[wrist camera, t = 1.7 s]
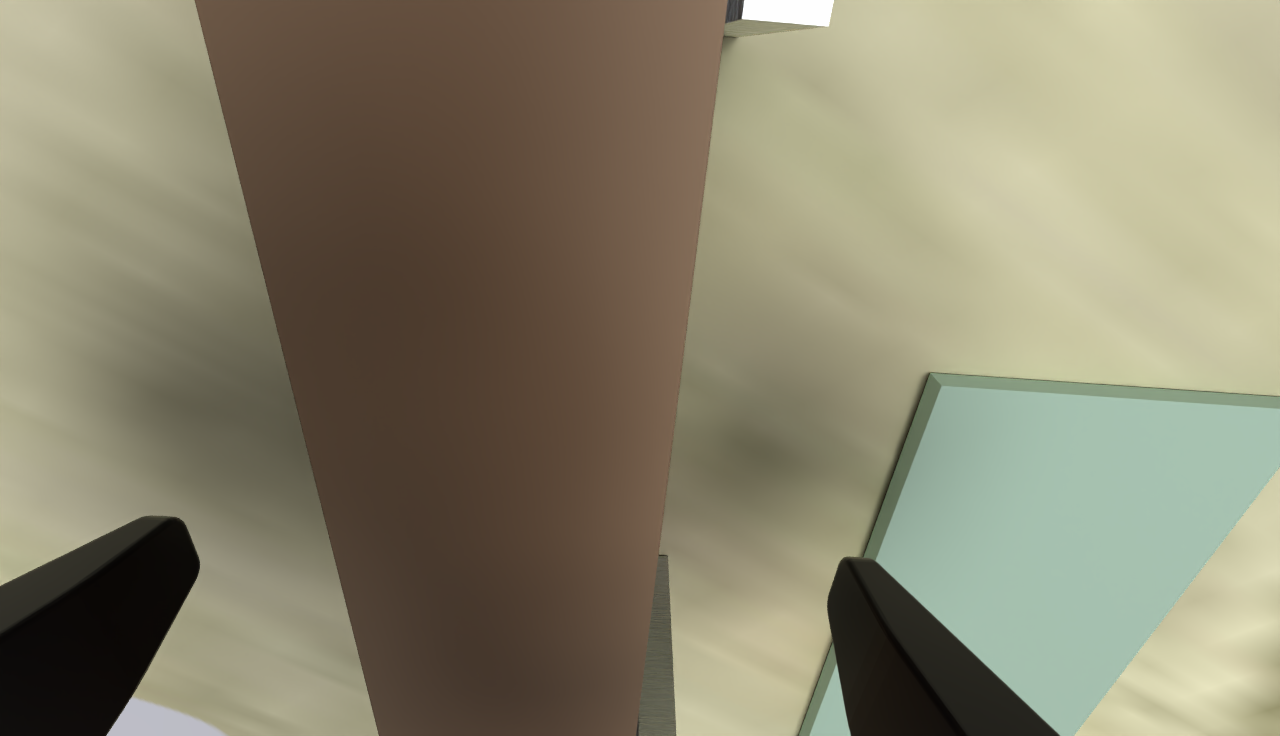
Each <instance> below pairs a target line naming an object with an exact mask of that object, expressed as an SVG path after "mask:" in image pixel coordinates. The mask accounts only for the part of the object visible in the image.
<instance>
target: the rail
mask: <svg viewBox="0 0 1280 736" xmlns="http://www.w3.org/2000/svg"><path fill="white" fill-rule="evenodd" d="M727 2H728V0H195V3H196V7H197V11H198V15H199V19H200V23H201V27H202V31H203V35H204V39H205V43H206V47H207V51H208V55H209V59H210V63H211V67H212V71H213V75H214V79H215V83H216V87H217V91H218V95H219V99H220V103H221V107H222V111H223V115H224V119H225V123H226V127H227V131H228V135H229V139H230V143H231V147H232V151H233V155H234V159H235V163H236V167H237V171H238V175H239V179H240V183H241V187H242V191H243V195H244V199H245V203H246V207H247V211H248V215H249V219H250V223H251V227H252V231H253V235H254V239H255V243H256V247H257V251H258V255H259V259H260V263H261V267H262V271H263V275H264V279H265V283H266V287H267V291H268V295H269V299H270V303H271V307H272V311H273V315H274V319H275V323H276V327H277V331H278V335H279V339H280V343H281V347H282V351H283V355H284V359H285V363H286V367H287V371H288V375H289V379H290V382H291V386H292V390H293V394H294V398H295V402H296V406H297V410H298V414H299V418H300V422H301V426H302V430H303V434H304V438H305V442H306V446H307V450H308V454H309V458H310V462H311V466H312V470H313V474H314V478H315V482H316V486H317V490H318V494H319V498H320V502H321V506H322V510H323V514H324V518H325V522H326V526H327V530H328V534H329V538H330V542H331V546H332V550H333V554H334V558H335V562H336V566H337V570H338V574H339V578H340V582H341V586H342V590H343V594H344V598H345V602H346V606H347V610H348V614H349V618H350V622H351V626H352V630H353V634H354V638H355V642H356V646H357V650H358V654H359V658H360V662H361V666H362V670H363V674H364V678H365V682H366V686H367V690H368V694H369V698H370V702H371V706H372V710H373V714H374V718H375V722H376V726H377V730H378V734H379V736H636V731H637V723H638V715H639V707H640V699H641V691H642V683H643V675H644V667H645V659H646V651H647V643H648V635H649V627H650V619H651V611H652V603H653V595H654V587H655V579H656V571H657V563H658V555H659V547H660V539H661V531H662V523H663V515H664V507H665V499H666V491H667V483H668V475H669V467H670V459H671V451H672V443H673V435H674V427H675V419H676V411H677V403H678V395H679V387H680V379H681V371H682V363H683V355H684V347H685V339H686V331H687V323H688V315H689V307H690V299H691V291H692V283H693V275H694V267H695V259H696V250H697V242H698V234H699V226H700V218H701V210H702V202H703V194H704V186H705V178H706V170H707V162H708V154H709V146H710V138H711V130H712V122H713V114H714V106H715V98H716V90H717V82H718V74H719V66H720V58H721V50H722V42H723V34H724V26H725V18H726V10H727Z"/></svg>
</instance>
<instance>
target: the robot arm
mask: <svg viewBox="0 0 1280 736" xmlns="http://www.w3.org/2000/svg"><path fill="white" fill-rule="evenodd" d="M199 569H200V560H199V556H198V554H197V551H196V549H195V546H194V544H193V542H192V539H191V537H190V534H189V532H188V529H187V527H186V525H185V523H184V522H183V521H182V520H181V519H180V518H177V517H167V516H145V517H141V518H139V519H137V520H135V521H132V522H130V523H128V524H126V525H124V526H122V527H120V528H118V529H116V530H114V531H112V532H110V533H108V534H106V535H104V536H102V537H100V538H98V539H96V540H93V541H91V542H89V543H87V544H85V545H83V546H81V547H79V548H77V549H75V550H73V551H71V552H69V553H67V554H65V555H63V556H61V557H59V558H57V559H54V560H52V561H50V562H48V563H46V564H44V565H42V566H40V567H38V568H36V569H34V570H32V571H30V572H28V573H26V574H24V575H22V576H20V577H18V578H16V579H13V580H11V581H9V582H7V583H5V584H3V585H1V586H0V736H106V735H107V734H108V732H109V731H110V729H111V728H112V726H113V725H114V723H115V722H116V720H117V719H118V717H119V716H120V714H121V713H122V711H123V710H124V708H125V706H126V705H127V703H128V702H129V700H130V698H131V697H132V695H133V694H134V692H135V691H136V689H137V687H138V685H139V684H140V682H141V680H142V678H143V677H144V675H145V673H146V671H147V670H148V668H149V666H150V664H151V662H152V660H153V659H154V657H155V655H156V653H157V651H158V649H159V647H160V646H161V644H162V642H163V640H164V638H165V636H166V635H167V633H168V631H169V629H170V627H171V625H172V623H173V622H174V620H175V618H176V616H177V614H178V612H179V611H180V609H181V607H182V605H183V603H184V601H185V599H186V598H187V596H188V594H189V592H190V590H191V588H192V586H193V585H194V583H195V581H196V579H197V576H198V573H199ZM827 610H828V618H829V623H830V629H831V634H832V640H833V645H834V651H835V657H836V662H837V668H838V673H839V679H840V685H841V690H842V696H843V701H844V707H845V712H846V717H847V722H848V726H849V730H850V734H851V736H1060V735H1059V734H1058V733H1057V732H1056V731H1055V730H1054V729H1053V728H1052V727H1051V726H1050V725H1049V724H1048V723H1047V722H1046V721H1045V720H1043V719H1042V718H1041V717H1040V716H1039V715H1038V714H1037V713H1036V712H1035V711H1034V710H1033V709H1032V708H1031V707H1030V706H1029V705H1028V704H1027V703H1026V702H1024V701H1023V700H1022V699H1021V698H1020V697H1019V696H1018V695H1017V694H1016V693H1015V692H1014V691H1013V690H1012V689H1011V688H1010V687H1009V686H1008V685H1007V684H1005V683H1004V682H1003V681H1002V680H1001V679H1000V678H999V677H998V676H997V675H996V674H995V673H994V672H993V671H992V670H991V669H990V668H989V667H987V666H986V665H985V664H984V663H983V662H982V661H981V660H980V659H979V658H978V657H977V656H976V655H975V654H974V653H973V652H972V651H971V650H970V649H968V648H967V647H966V646H965V645H964V644H963V643H962V642H961V641H960V640H959V639H958V638H957V637H956V636H955V635H954V634H953V633H952V632H951V631H949V630H948V629H947V628H946V627H945V626H944V625H943V624H942V623H941V622H940V621H939V620H938V619H937V618H936V617H935V616H934V615H933V614H932V613H930V612H929V611H928V610H927V609H926V608H925V607H924V606H923V605H922V604H921V603H920V602H919V601H918V600H917V599H916V598H915V597H914V596H913V595H911V594H910V593H909V592H908V591H907V590H906V589H905V588H904V587H903V586H902V585H901V584H900V583H899V582H898V581H897V580H896V579H895V578H894V577H892V576H891V575H890V574H889V573H888V572H887V571H886V570H885V569H884V568H883V567H882V566H881V565H880V564H879V563H878V562H876V561H875V560H873V559H871V558H861V557H844V558H843V559H842V560H841V561H840V563H839V565H838V568H837V571H836V574H835V577H834V580H833V583H832V586H831V589H830V592H829V595H828V601H827Z"/></svg>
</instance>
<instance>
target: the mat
mask: <svg viewBox="0 0 1280 736" xmlns="http://www.w3.org/2000/svg"><path fill="white" fill-rule="evenodd" d="M1279 467H1280V397H1273V396H1258V395H1244V394H1229V393H1215V392H1200V391H1186V390H1171V389H1157V388H1142V387H1128V386H1113V385H1099V384H1084V383H1070V382H1055V381H1041V380H1026V379H1012V378H997V377H983V376H968V375H954V374H939V373H930V375H929V378H928V381H927V383H926V386H925V389H924V392H923V394H922V397H921V400H920V403H919V405H918V408H917V411H916V414H915V416H914V419H913V422H912V425H911V427H910V430H909V433H908V436H907V438H906V441H905V444H904V447H903V450H902V452H901V455H900V458H899V461H898V463H897V466H896V469H895V472H894V474H893V477H892V480H891V483H890V485H889V488H888V491H887V494H886V496H885V499H884V502H883V505H882V507H881V510H880V513H879V516H878V518H877V521H876V524H875V527H874V529H873V532H872V535H871V538H870V540H869V543H868V546H867V549H866V551H865V554H864V557H863V558H871V559H873V560H875V561H876V562H878V563H879V564H880V565H881V566H882V567H883V568H884V569H885V570H886V571H887V572H888V573H889V574H890V575H891V576H892V577H894V578H895V579H896V580H897V581H898V582H899V583H900V584H901V585H902V586H903V587H904V588H905V589H906V590H907V591H908V592H909V593H910V594H911V595H913V596H914V597H915V598H916V599H917V600H918V601H919V602H920V603H921V604H922V605H923V606H924V607H925V608H926V609H927V610H928V611H929V612H930V613H932V614H933V615H934V616H935V617H936V618H937V619H938V620H939V621H940V622H941V623H942V624H943V625H944V626H945V627H946V628H947V629H948V630H949V631H951V632H952V633H953V634H954V635H955V636H956V637H957V638H958V639H959V640H960V641H961V642H962V643H963V644H964V645H965V646H966V647H967V648H968V649H970V650H971V651H972V652H973V653H974V654H975V655H976V656H977V657H978V658H979V659H980V660H981V661H982V662H983V663H984V664H985V665H986V666H987V667H989V668H990V669H991V670H992V671H993V672H994V673H995V674H996V675H997V676H998V677H999V678H1000V679H1001V680H1002V681H1003V682H1004V683H1005V684H1007V685H1008V686H1009V687H1010V688H1011V689H1012V690H1013V691H1014V692H1015V693H1016V694H1017V695H1018V696H1019V697H1020V698H1021V699H1022V700H1023V701H1024V702H1026V703H1027V704H1028V705H1029V706H1030V707H1031V708H1032V709H1033V710H1034V711H1035V712H1036V713H1037V714H1038V715H1039V716H1040V717H1041V718H1042V719H1043V720H1045V721H1046V722H1047V723H1048V724H1049V725H1050V726H1051V727H1052V728H1053V729H1054V730H1055V731H1056V732H1057V733H1058V734H1059V735H1060V736H1074V735H1075V734H1076V732H1077V731H1078V730H1079V729H1080V727H1081V726H1082V725H1083V723H1084V722H1085V721H1086V719H1087V718H1088V717H1089V715H1090V714H1091V713H1092V712H1093V710H1094V709H1095V708H1096V706H1097V705H1098V704H1099V702H1100V701H1101V700H1102V698H1103V697H1104V696H1105V695H1106V693H1107V692H1108V691H1109V689H1110V688H1111V687H1112V685H1113V684H1114V683H1115V682H1116V680H1117V679H1118V678H1119V676H1120V675H1121V674H1122V672H1123V671H1124V670H1125V668H1126V667H1127V666H1128V665H1129V663H1130V662H1131V661H1132V659H1133V658H1134V657H1135V655H1136V654H1137V653H1138V651H1139V650H1140V649H1141V648H1142V646H1143V645H1144V644H1145V642H1146V641H1147V640H1148V638H1149V637H1150V636H1151V634H1152V633H1153V632H1154V631H1155V629H1156V628H1157V627H1158V625H1159V624H1160V623H1161V621H1162V620H1163V619H1164V617H1165V616H1166V615H1167V614H1168V612H1169V611H1170V610H1171V608H1172V607H1173V606H1174V604H1175V603H1176V602H1177V601H1178V599H1179V598H1180V597H1181V595H1182V594H1183V593H1184V591H1185V590H1186V589H1187V587H1188V586H1189V585H1190V584H1191V582H1192V581H1193V580H1194V578H1195V577H1196V576H1197V574H1198V573H1199V572H1200V570H1201V569H1202V568H1203V567H1204V565H1205V564H1206V563H1207V561H1208V560H1209V559H1210V557H1211V556H1212V555H1213V553H1214V552H1215V551H1216V550H1217V548H1218V547H1219V546H1220V544H1221V543H1222V542H1223V540H1224V539H1225V538H1226V536H1227V535H1228V534H1229V533H1230V531H1231V530H1232V529H1233V527H1234V526H1235V525H1236V523H1237V522H1238V521H1239V520H1240V518H1241V517H1242V516H1243V514H1244V513H1245V512H1246V510H1247V509H1248V508H1249V506H1250V505H1251V504H1252V503H1253V501H1254V500H1255V499H1256V497H1257V496H1258V495H1259V493H1260V492H1261V491H1262V489H1263V488H1264V487H1265V486H1266V484H1267V483H1268V482H1269V480H1270V479H1271V478H1272V476H1273V475H1274V474H1275V472H1276V471H1277V470H1278V469H1279ZM799 736H851V734H850V730H849V726H848V722H847V717H846V712H845V707H844V701H843V696H842V690H841V685H840V679H839V673H838V668H837V662H836V657H835V651H834V645H833V642H832V645H831V648H830V651H829V653H828V656H827V659H826V662H825V664H824V667H823V670H822V673H821V676H820V678H819V681H818V684H817V687H816V689H815V692H814V695H813V698H812V700H811V703H810V706H809V709H808V711H807V714H806V717H805V720H804V722H803V725H802V728H801V731H800V733H799Z"/></svg>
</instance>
